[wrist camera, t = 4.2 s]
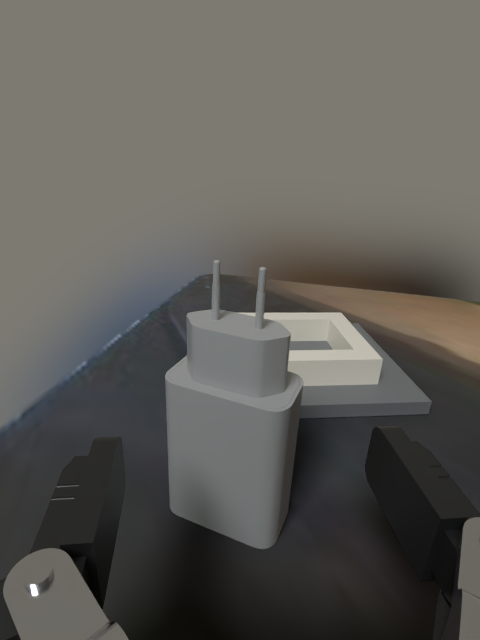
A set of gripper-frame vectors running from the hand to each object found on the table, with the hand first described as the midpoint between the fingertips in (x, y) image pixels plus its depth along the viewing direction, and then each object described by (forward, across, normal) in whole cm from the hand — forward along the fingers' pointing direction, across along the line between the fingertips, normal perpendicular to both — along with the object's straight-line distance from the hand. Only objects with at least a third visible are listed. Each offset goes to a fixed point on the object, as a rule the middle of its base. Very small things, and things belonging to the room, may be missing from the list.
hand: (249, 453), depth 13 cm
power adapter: (+4, 0, +7) cm, 8 cm away
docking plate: (+17, -6, +7) cm, 20 cm away
